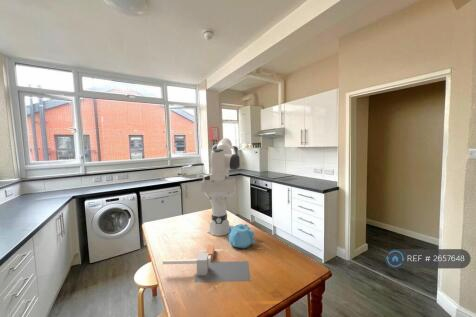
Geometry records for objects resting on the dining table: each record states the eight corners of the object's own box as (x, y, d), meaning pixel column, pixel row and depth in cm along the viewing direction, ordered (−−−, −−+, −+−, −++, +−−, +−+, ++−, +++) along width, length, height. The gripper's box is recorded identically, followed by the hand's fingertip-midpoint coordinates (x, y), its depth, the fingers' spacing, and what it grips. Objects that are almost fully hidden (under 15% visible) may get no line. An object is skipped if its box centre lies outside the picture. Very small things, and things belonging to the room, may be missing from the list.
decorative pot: (230, 252, 119) (230, 230, 118) (227, 240, 135) (227, 221, 134) (256, 249, 122) (256, 228, 121) (250, 238, 137) (249, 219, 137)
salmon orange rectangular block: (207, 251, 119) (207, 245, 118) (214, 251, 119) (214, 244, 118) (205, 260, 109) (205, 253, 108) (212, 260, 109) (212, 253, 108)
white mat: (200, 250, 120) (200, 249, 120) (222, 250, 121) (222, 249, 121) (196, 262, 108) (196, 261, 107) (221, 262, 108) (221, 261, 108)
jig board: (199, 263, 107) (199, 248, 106) (248, 262, 107) (248, 247, 107) (194, 284, 91) (193, 266, 90) (250, 282, 91) (250, 264, 91)
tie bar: (164, 261, 99) (164, 256, 99) (210, 260, 100) (210, 255, 100) (162, 265, 96) (162, 259, 96) (210, 264, 97) (210, 258, 97)
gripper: (235, 175, 116) (235, 198, 117) (201, 175, 115) (202, 198, 116) (235, 177, 110) (235, 200, 110) (199, 177, 109) (200, 201, 110)
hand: (218, 199), depth 113 cm, fingers open, 8 cm apart
